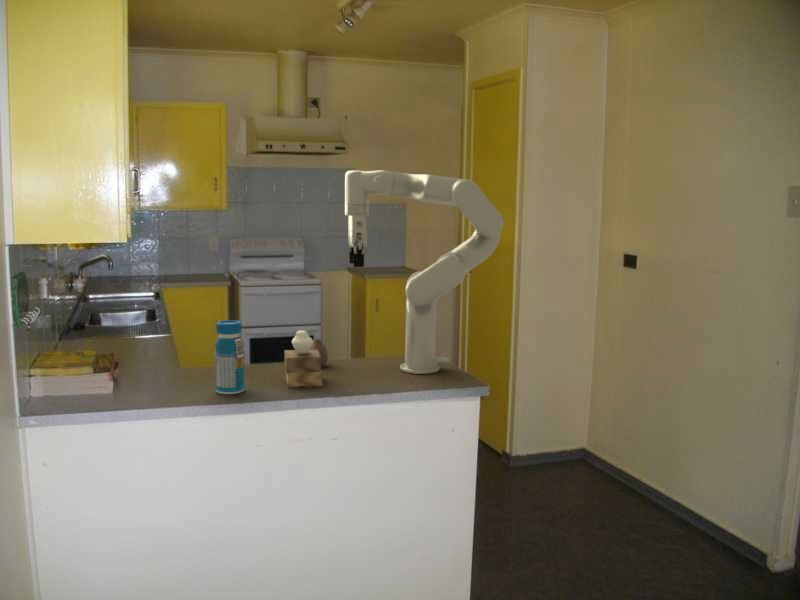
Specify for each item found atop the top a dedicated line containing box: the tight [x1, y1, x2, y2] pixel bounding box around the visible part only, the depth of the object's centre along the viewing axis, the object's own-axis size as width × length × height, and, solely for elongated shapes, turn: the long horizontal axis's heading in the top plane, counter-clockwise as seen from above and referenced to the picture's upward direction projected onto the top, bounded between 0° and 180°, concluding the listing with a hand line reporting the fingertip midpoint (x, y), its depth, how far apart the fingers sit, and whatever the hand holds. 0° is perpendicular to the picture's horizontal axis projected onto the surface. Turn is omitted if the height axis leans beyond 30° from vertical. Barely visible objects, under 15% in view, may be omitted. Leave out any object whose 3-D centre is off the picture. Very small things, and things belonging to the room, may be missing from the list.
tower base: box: [285, 370, 323, 388], centre depth 226 cm, size 10×10×4 cm
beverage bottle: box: [213, 319, 246, 395], centre depth 214 cm, size 8×8×20 cm
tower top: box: [283, 349, 322, 374], centre depth 226 cm, size 10×10×4 cm
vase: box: [310, 338, 329, 368], centre depth 245 cm, size 7×7×9 cm
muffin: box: [291, 329, 314, 354], centre depth 225 cm, size 6×6×7 cm
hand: (356, 265), depth 239 cm, fingers open, 9 cm apart
